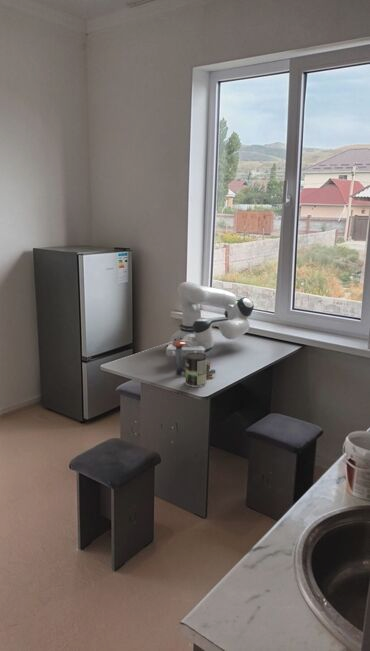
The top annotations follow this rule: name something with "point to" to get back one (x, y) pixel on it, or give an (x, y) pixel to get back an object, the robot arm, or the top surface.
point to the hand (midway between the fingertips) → (183, 355)
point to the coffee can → (196, 369)
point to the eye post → (208, 375)
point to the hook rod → (179, 358)
